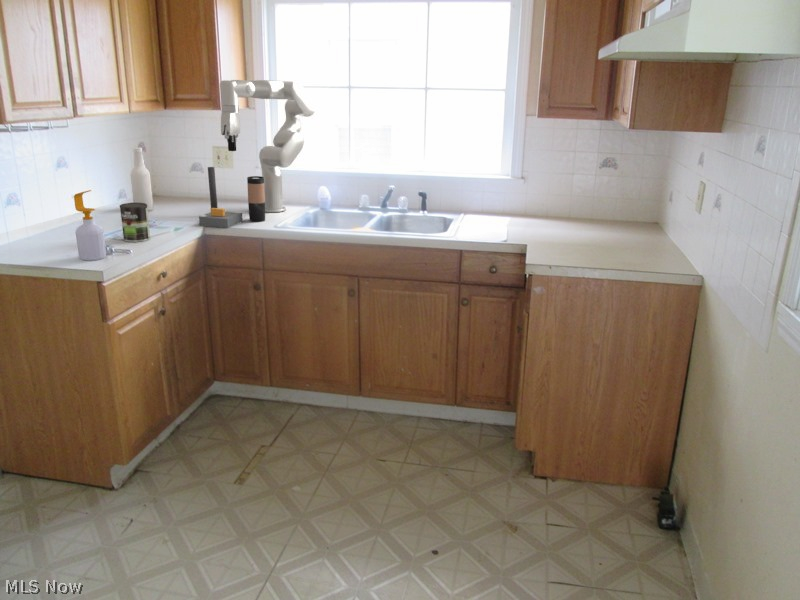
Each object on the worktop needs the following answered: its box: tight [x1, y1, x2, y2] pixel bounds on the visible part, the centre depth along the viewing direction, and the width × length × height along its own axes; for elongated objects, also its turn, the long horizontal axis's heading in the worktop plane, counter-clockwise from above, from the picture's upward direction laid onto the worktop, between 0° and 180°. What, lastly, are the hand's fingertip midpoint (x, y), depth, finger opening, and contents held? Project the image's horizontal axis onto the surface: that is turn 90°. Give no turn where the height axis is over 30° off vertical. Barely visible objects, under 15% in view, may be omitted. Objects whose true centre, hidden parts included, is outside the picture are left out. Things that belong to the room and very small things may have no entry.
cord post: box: [207, 166, 219, 209], centre depth 302 cm, size 8×8×23 cm
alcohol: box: [130, 146, 154, 212], centre depth 310 cm, size 9×9×30 cm
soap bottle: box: [73, 189, 107, 262], centre depth 230 cm, size 9×9×25 cm
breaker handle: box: [210, 207, 226, 217], centre depth 288 cm, size 2×6×3 cm, turn 76°
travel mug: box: [246, 175, 266, 223], centre depth 298 cm, size 8×8×20 cm
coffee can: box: [119, 202, 151, 243], centre depth 259 cm, size 10×10×14 cm
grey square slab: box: [198, 211, 244, 229], centre depth 292 cm, size 14×14×4 cm
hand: (232, 150), depth 295 cm, fingers closed
